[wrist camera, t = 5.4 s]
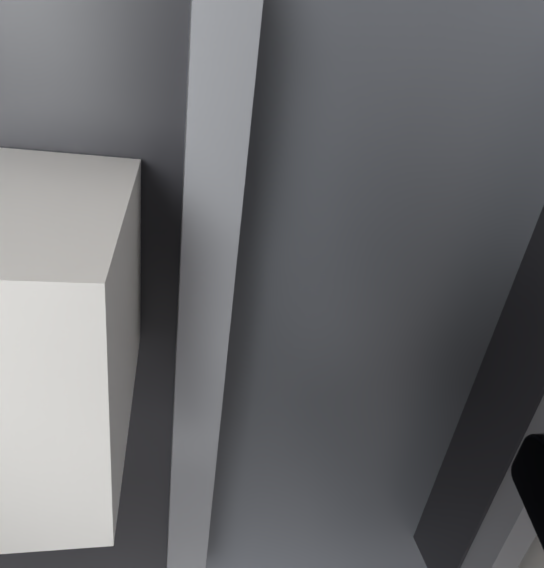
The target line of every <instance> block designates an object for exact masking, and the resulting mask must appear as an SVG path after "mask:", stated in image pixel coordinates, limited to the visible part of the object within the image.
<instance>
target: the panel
mask: <svg viewBox="0 0 544 568" xmlns="http://www.w3.org/2000/svg"><path fill="white" fill-rule="evenodd" d="M0 147H1V148H13V149H25V150H36V151H48V152H60V153H72V154H84V155H96V156H108V157H119V158H131V159H141V297H140V343H139V351H138V359H137V367H136V374H135V382H134V390H133V398H132V406H131V414H130V421H129V429H128V437H127V445H126V453H125V461H124V469H123V476H122V484H121V492H120V500H119V508H118V516H117V523H116V531H115V539H114V546H107V547H93V548H79V549H66V550H52V551H38V552H25V553H11V554H0V568H518V567H519V565H520V563H521V561H522V560H523V558H524V556H525V554H526V553H527V551H528V549H529V547H530V546H531V544H532V542H533V540H534V538H535V537H536V535H537V534H536V532H535V530H534V527H533V525H532V523H531V521H530V518H529V516H528V514H527V512H526V509H525V507H524V505H523V502H522V500H521V498H520V496H519V493H518V491H517V489H516V487H515V484H514V482H513V480H512V476H511V465H512V463H513V461H514V459H515V456H516V454H517V452H518V450H519V448H520V446H521V444H522V442H523V440H524V438H525V437H526V436H528V435H529V434H543V433H544V0H0Z"/></svg>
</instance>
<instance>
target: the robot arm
mask: <svg viewBox="0 0 544 568" xmlns="http://www.w3.org/2000/svg"><path fill="white" fill-rule="evenodd" d="M511 476H512V480H513V482H514V484H515V487H516V489H517V491H518V493H519V496H520V498H521V500H522V502H523V505H524V507H525V509H526V512H527V514H528V516H529V518H530V521H531V523H532V525H533V527H534V530H535V532H536V534H537V536H538V539H539V541H540V543H541V545H542V548H543V550H544V433H543V434H529V435H528V436H526V437H525V438H524V440H523V442H522V444H521V446H520V448H519V450H518V452H517V454H516V456H515V459H514V461H513V463H512V465H511Z"/></svg>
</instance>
